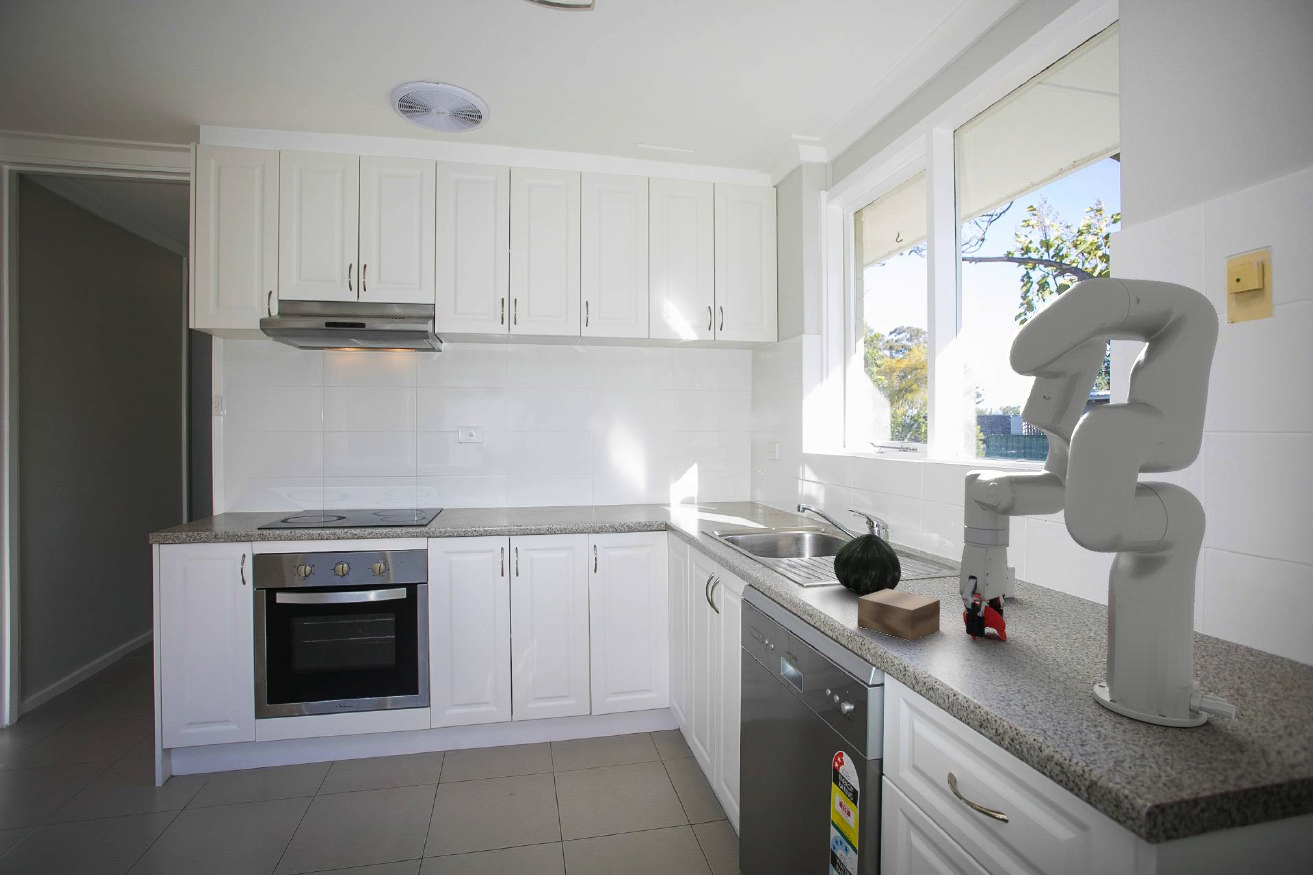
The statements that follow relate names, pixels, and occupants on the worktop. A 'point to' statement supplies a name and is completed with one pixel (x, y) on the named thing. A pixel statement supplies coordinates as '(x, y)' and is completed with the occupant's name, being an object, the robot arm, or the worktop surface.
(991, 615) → the red rounded piece
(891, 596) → the walnut block
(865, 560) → the squash
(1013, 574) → the medicine bottle
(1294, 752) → the worktop surface
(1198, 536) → the robot arm
